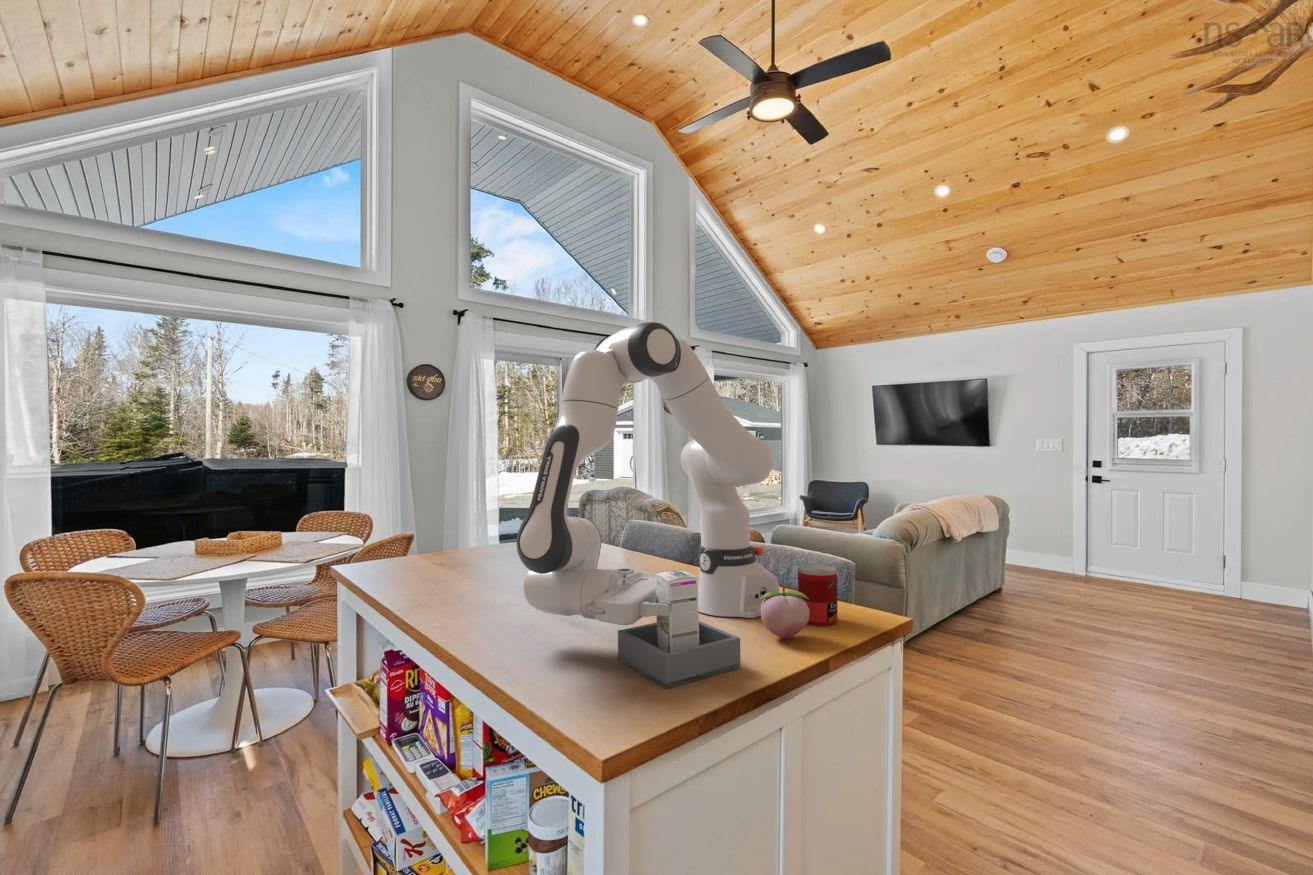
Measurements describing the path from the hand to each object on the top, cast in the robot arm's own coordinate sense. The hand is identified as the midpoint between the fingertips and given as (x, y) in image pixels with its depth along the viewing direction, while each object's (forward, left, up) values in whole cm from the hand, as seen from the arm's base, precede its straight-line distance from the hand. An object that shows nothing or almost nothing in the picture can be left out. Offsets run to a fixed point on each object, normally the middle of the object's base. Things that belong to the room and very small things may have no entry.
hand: (679, 602), depth 102 cm
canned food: (-38, -3, -11) cm, 39 cm away
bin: (0, 0, -10) cm, 11 cm away
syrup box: (0, 0, -10) cm, 10 cm away
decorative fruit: (-24, +1, -11) cm, 26 cm away
